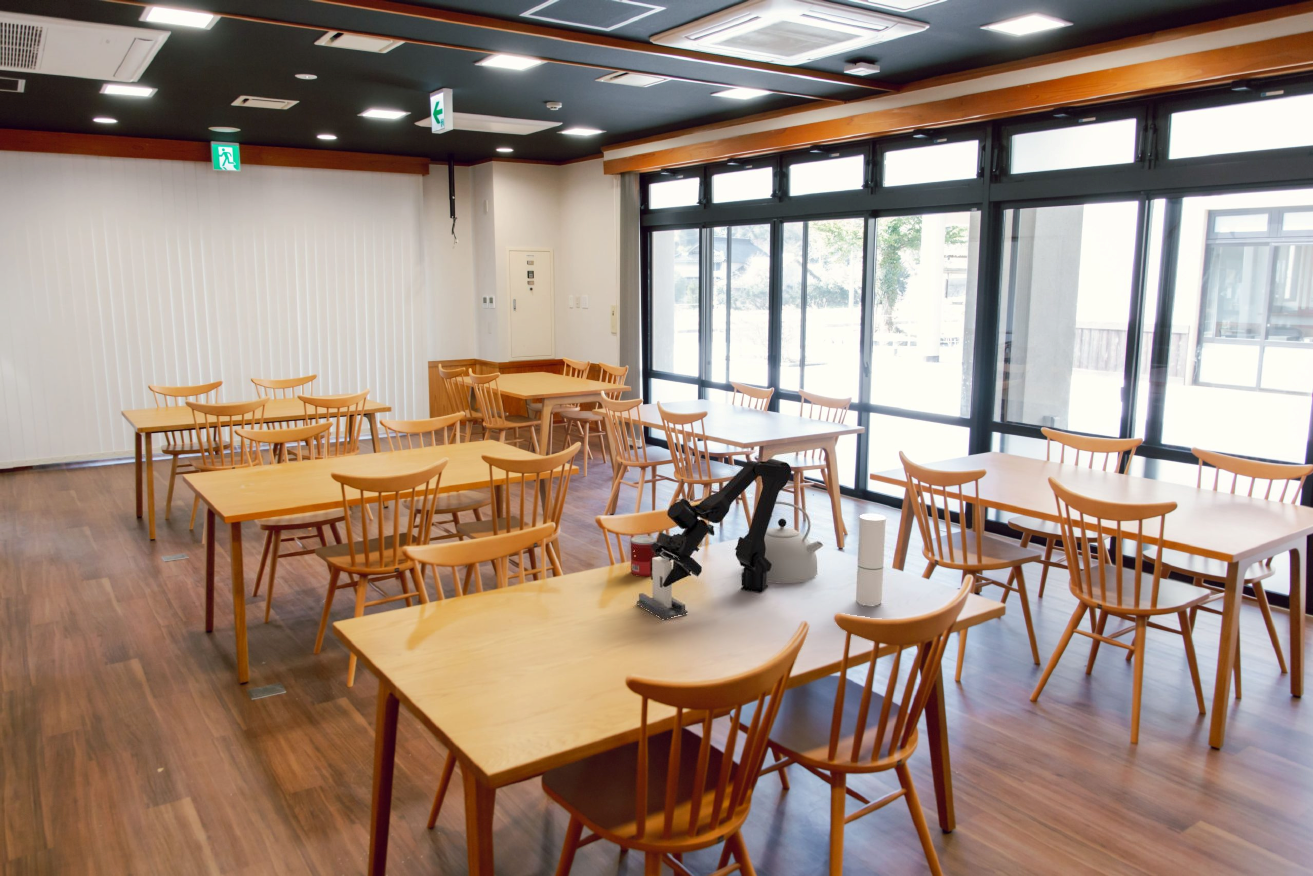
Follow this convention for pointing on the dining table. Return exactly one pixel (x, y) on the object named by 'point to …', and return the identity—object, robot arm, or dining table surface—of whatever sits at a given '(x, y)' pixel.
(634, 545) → the canned food
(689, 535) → the robot arm
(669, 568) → the door panel
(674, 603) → the bottom track
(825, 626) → the dining table surface
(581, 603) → the dining table surface
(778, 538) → the kettle
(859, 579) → the cylindrical container
